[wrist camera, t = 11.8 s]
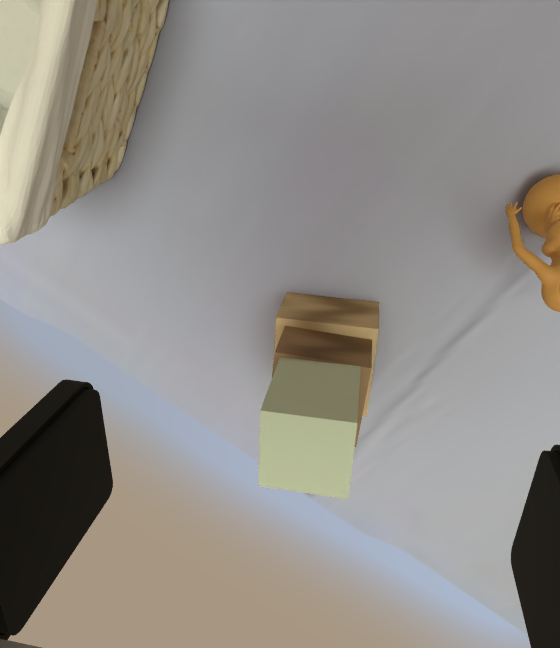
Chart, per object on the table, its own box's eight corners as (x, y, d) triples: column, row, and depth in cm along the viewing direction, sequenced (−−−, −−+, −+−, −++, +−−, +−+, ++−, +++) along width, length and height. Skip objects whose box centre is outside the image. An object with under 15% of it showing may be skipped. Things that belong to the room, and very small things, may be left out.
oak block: (378, 301, 39) (378, 329, 35) (367, 381, 42) (366, 416, 38) (287, 291, 40) (275, 317, 36) (282, 370, 43) (271, 403, 39)
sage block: (360, 366, 32) (357, 423, 26) (352, 434, 34) (348, 499, 29) (279, 357, 33) (260, 410, 27) (276, 423, 35) (258, 485, 29)
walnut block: (372, 339, 35) (371, 368, 32) (357, 413, 38) (355, 447, 34) (284, 325, 36) (274, 351, 32) (276, 398, 39) (266, 430, 35)
